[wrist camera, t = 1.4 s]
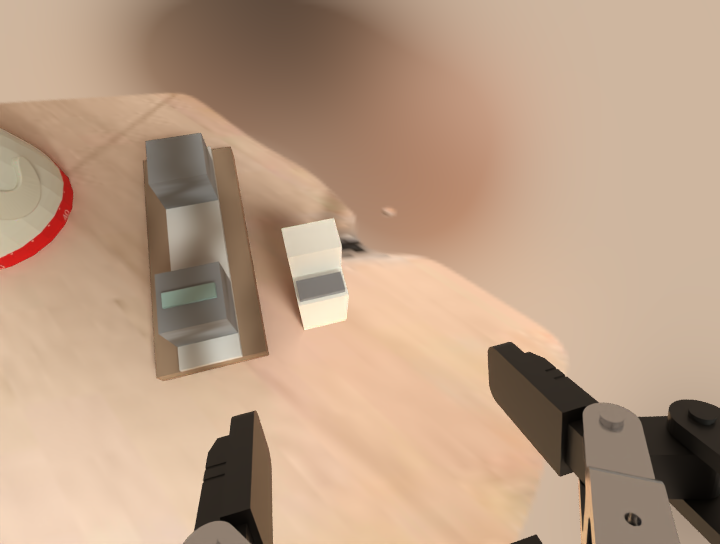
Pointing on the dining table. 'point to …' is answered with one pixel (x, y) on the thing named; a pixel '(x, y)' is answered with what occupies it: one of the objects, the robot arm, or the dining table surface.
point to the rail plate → (199, 259)
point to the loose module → (317, 272)
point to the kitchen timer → (29, 199)
